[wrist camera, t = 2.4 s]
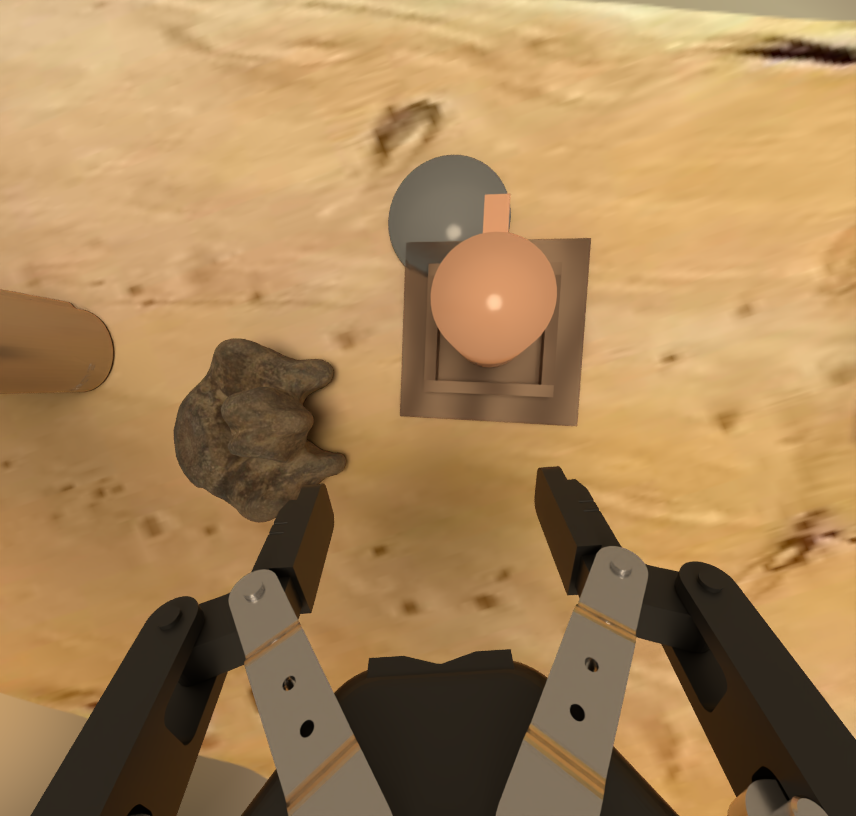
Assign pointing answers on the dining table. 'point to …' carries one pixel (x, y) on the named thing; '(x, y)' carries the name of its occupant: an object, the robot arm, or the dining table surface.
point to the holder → (511, 383)
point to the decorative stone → (253, 429)
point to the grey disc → (440, 206)
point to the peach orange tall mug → (493, 291)
